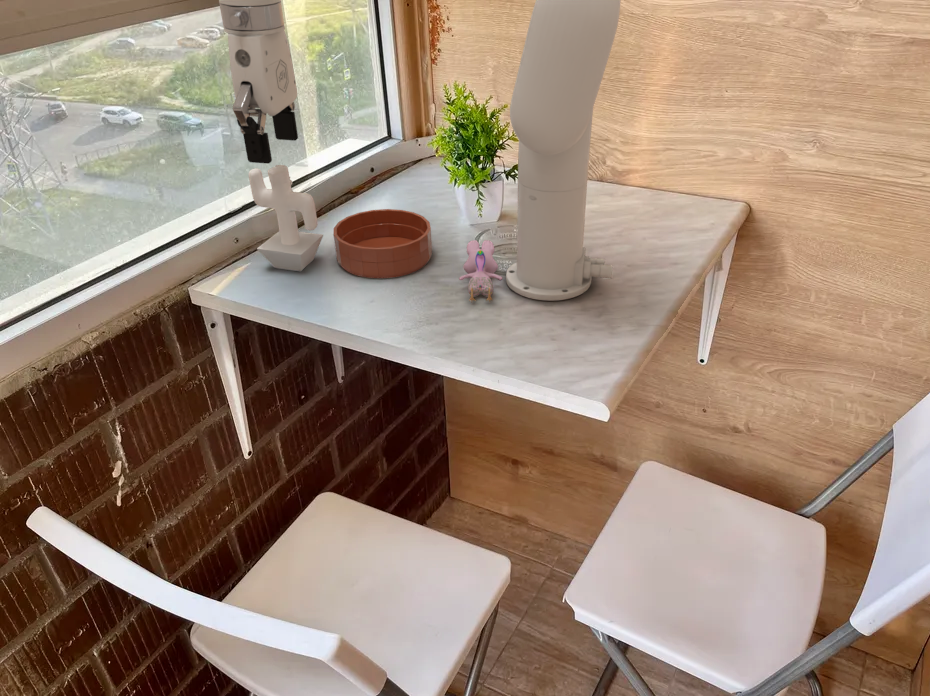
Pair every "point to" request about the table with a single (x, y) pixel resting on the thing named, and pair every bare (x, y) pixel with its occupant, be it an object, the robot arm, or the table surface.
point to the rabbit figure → (480, 269)
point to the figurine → (286, 220)
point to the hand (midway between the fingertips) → (274, 150)
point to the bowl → (383, 243)
